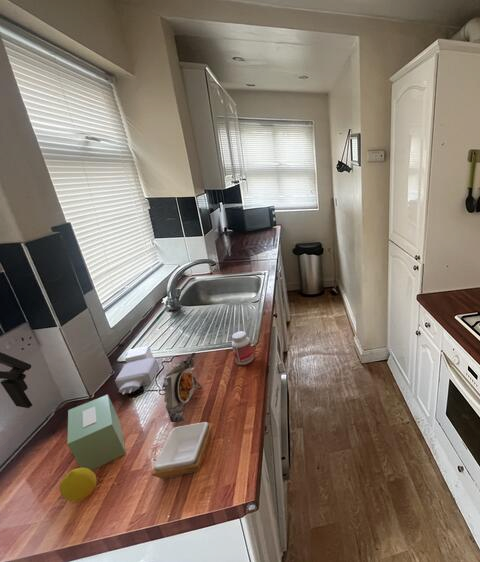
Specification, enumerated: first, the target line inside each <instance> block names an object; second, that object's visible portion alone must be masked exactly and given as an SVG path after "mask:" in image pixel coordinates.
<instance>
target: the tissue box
mask: <svg viewBox="0 0 480 562" xmlns="http://www.w3.org/2000/svg"><path fill="white" fill-rule="evenodd" d="M66 441H67V442H66V444H67V446H68V448H69V450H70V452H71V454H72V455H73V457H74V459H75V460H76V462H77V464H78V466H79V468H81V467H84V468H88V469H90V470H91V471H94V470H96V469H98V468H100V467H102V466H105V465H106V464H108V463H110V462H112V461H114V460H116V459H118V458H120V457H121V456H124V455H126V454H127V452H126V445H125V441H124V435H123V429H122V423H121V420H120V417H119V415H118V413H117V411H116V409H115V407H114V404H113V403H112V400H111V398H110V396H109V394H105V395H103V396H100V397H98V398H95V399H93V400H90V401H88V402H84V403H82V404H80V405H78V406H76V407H72V408H70V409H68V410H67V440H66Z"/></svg>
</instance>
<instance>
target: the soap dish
mask: <svg viewBox="0 0 480 562" xmlns="http://www.w3.org/2000/svg"><path fill="white" fill-rule="evenodd" d="M212 429H213V422H210V423H209V422H207V421H203V422H196V423H191V424H184V425H180V426H176V427H173V428H172V429H171V430H170V432H169V434H168V436H167V438H166V440H165V442H164V445H163V447H162V448H161V450H160V453H159V455H158V456H157V459H156V461H155V462H154V466H153V469H152V471H151V473H150V475H151V476H153V477H157V478H159V479H167V478H173V477H178V476H182V475H189V474H194V473H196V474H197V473H199V471H200V469H201V465H202V462H203V461H204V460H203V459H204V457H205V454H206V451H207V448H208V444H209V441H210V439H211V435H212Z"/></svg>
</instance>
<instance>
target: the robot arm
mask: <svg viewBox="0 0 480 562" xmlns="http://www.w3.org/2000/svg"><path fill="white" fill-rule="evenodd" d="M0 364H1V365H4V366H7V367H8V368H11V369H10V370H0V379H1V380H2V381H0V384H1V386H2V387H3V389H4V391H5V392H6V393H7V395H8V396H9V398H10V399H11V401H12V402H13V404H14V406H15V407H19V408H23V409H24V408H25V409H29V408H32V407H33V404H32V402H31V400H30V399H29V397H28V395H27V394H26V392H25V391H27V390H28V387H29V386H28V385H27V383H26V382H25V379H26V377H27V374H25V372H26V371H29V370H31V368H32V365H31V364H30V363H28V362H26V361H23V360H20V359H18V358H16V357H14V356H11V355H8V354H6V353H3V352H2V351H0Z"/></svg>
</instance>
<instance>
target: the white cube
mask: <svg viewBox="0 0 480 562" xmlns="http://www.w3.org/2000/svg"><path fill="white" fill-rule="evenodd" d="M147 358H154V355H153V352H152V350H151V347H150V345H142V346H139V347H134V348H131V349H128V351H127V353H126V355H125V357H124V360H125V364H126V363H128V362H132V361H137V360H142V359H147Z"/></svg>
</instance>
